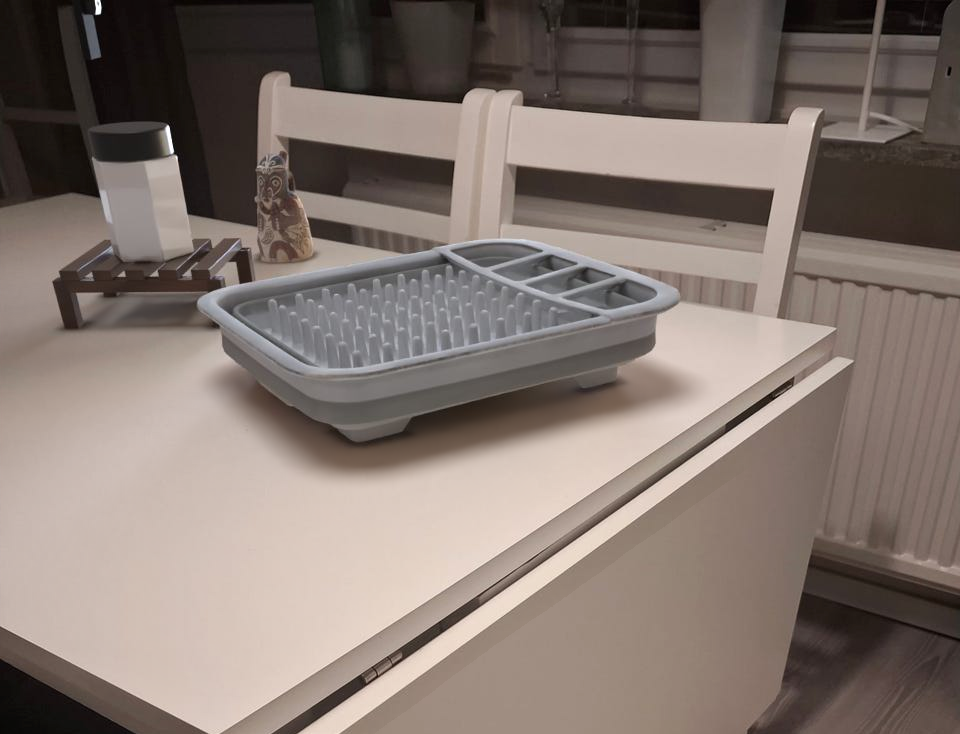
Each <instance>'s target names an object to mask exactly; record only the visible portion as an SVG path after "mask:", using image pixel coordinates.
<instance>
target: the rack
mask: <svg viewBox="0 0 960 734" xmlns="http://www.w3.org/2000/svg"><path fill="white" fill-rule="evenodd" d="M192 242H193V248H194V252H193V253H190V254H187V255H184V256H180V257H177V258H173V259H170V260H167V261H163V262H123V261H122V260H121V259H120V258H119V257H118V256H117V255H116V254H115V253H114V252H113V249H112V244H111V240H110V239H103V240H102V241H100V242H99V243H98V244H96V245H94V246H93V247H92V248H90V249H88V250H87V251H85V252H84V253H83V254H81V255H80V256H78V257H77V258H75V259H74V260H73V261H71V262H70V263H68V264H67V265H65V266H64V267H62V268H61V269H60V270H58V273H59V276H58V277H56V278H54V279H53V280H52V287H53V289H54V294H55V297H56V301H57V305H58V309H59V312H60V317H61V320H62V324H63V327H64V329H66V330H67V329H69V330H70V329H76V330H77V329H80V328H82V326H84V325H85V323H84V318H83V315H82V310H81V307H80V302H79V299H78V295H77V294H102V295H103V297H104V298H105V297H107V298H108V297H109V298H110V297H111V298H112V297H118V296H120V295H121V294H122V293H210V292H212V291H215V290H218V289H222V288H225V287H227V284H226V279H225V275H217V274H218V273H219V272H220V271H221V270H222V269H223V268H224V267H225V266H226V265H227V264H228V263H235V265H236V271H237V277H238V285H239V284H244V283H249V282H254V281H257V280H256V274H255V273H256V272H255V266H254V260H253V259H254V258H253V252H252V247H247V246H246V247H243V243H242V238H241V237H227V238H226V237H223V239H221V240H220V241H219V242H218V243H217V244H216V245H215V246H214V247H213V243H212V238H192ZM189 270H190V274H191V275H185V274H186V273H187V272H188V271H189ZM155 272H157V276H156V275H155V276H154V275H153V274H154V273H155ZM123 273H124V275H125V276H120V275H121V274H123ZM90 274H91V275H92V276H88V275H90ZM152 275H153V276H152ZM212 323H213V328H214V329H215V328H219V329H220V325H219V324H217V323H216V322H215V321H213V320H212Z"/></svg>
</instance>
